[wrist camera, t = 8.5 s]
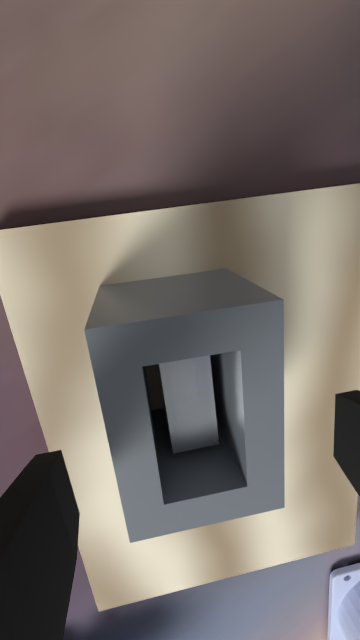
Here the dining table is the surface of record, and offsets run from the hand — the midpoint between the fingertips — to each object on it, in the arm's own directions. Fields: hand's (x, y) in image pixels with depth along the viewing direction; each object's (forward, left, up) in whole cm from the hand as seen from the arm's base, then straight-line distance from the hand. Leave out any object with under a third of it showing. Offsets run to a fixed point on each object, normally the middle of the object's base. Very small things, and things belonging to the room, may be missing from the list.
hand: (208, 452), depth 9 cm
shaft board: (-1, +4, -7) cm, 8 cm away
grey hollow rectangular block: (0, 0, -6) cm, 6 cm away
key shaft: (0, 0, -7) cm, 7 cm away
